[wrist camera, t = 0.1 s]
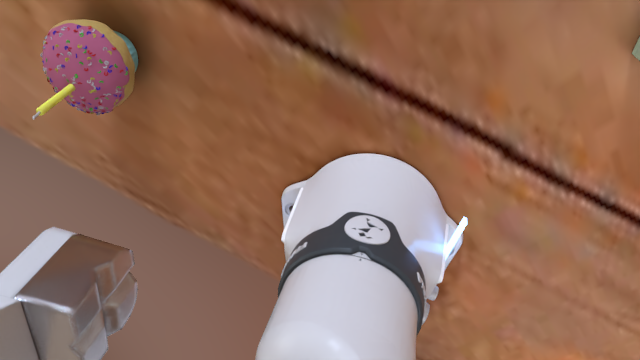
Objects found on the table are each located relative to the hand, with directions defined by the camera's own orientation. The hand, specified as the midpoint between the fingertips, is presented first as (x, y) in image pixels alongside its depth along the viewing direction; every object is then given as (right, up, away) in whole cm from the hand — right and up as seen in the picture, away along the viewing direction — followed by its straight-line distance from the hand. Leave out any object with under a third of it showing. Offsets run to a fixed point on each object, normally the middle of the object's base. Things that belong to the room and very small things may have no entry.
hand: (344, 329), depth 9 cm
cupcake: (-21, +15, +42) cm, 50 cm away
